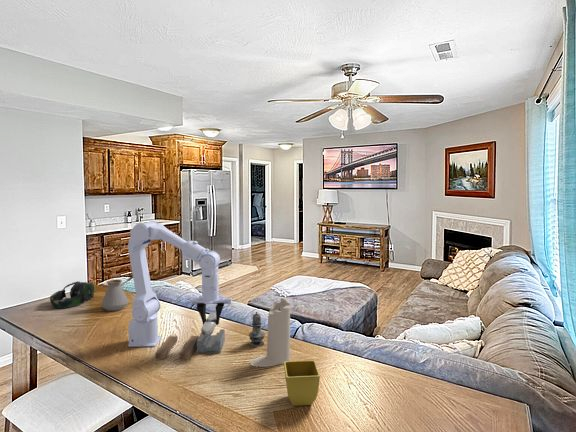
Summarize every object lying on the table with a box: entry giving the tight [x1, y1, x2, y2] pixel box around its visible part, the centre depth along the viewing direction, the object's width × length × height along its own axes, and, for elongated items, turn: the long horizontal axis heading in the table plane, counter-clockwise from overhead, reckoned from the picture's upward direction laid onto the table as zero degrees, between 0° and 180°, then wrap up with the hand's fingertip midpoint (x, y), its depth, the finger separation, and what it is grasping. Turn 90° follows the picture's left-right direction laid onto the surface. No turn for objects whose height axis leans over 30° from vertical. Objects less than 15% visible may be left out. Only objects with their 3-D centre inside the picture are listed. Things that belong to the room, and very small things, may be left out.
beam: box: [155, 335, 200, 360], centre depth 127 cm, size 11×14×2 cm
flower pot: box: [283, 359, 321, 407], centre depth 97 cm, size 9×9×9 cm
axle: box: [200, 311, 217, 336], centre depth 128 cm, size 12×4×4 cm, turn 1°
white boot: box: [247, 297, 291, 368], centre depth 118 cm, size 7×14×20 cm, turn 113°
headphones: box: [49, 281, 95, 310], centre depth 177 cm, size 13×13×20 cm
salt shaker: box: [248, 311, 266, 348], centre depth 131 cm, size 6×6×12 cm
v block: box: [196, 328, 226, 354], centre depth 129 cm, size 8×10×4 cm
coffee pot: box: [100, 274, 133, 312], centre depth 173 cm, size 21×12×15 cm, turn 152°
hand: (211, 323), depth 129 cm, fingers closed on axle, 4 cm apart
